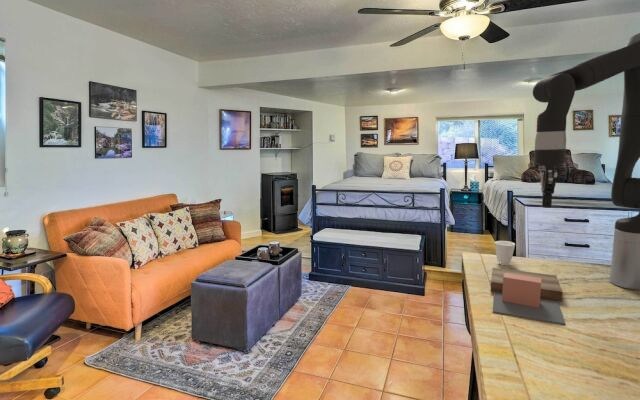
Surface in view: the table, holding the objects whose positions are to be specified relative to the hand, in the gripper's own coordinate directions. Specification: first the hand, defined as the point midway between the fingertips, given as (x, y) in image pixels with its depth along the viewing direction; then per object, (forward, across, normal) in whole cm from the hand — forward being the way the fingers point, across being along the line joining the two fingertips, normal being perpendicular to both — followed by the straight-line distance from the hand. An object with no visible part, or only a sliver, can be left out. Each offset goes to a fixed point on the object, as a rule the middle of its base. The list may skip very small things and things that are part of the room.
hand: (546, 207), depth 104 cm
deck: (+26, -1, +5) cm, 26 cm away
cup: (+26, +23, +10) cm, 36 cm away
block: (+21, -11, +6) cm, 25 cm away
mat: (+25, -16, +5) cm, 30 cm away
